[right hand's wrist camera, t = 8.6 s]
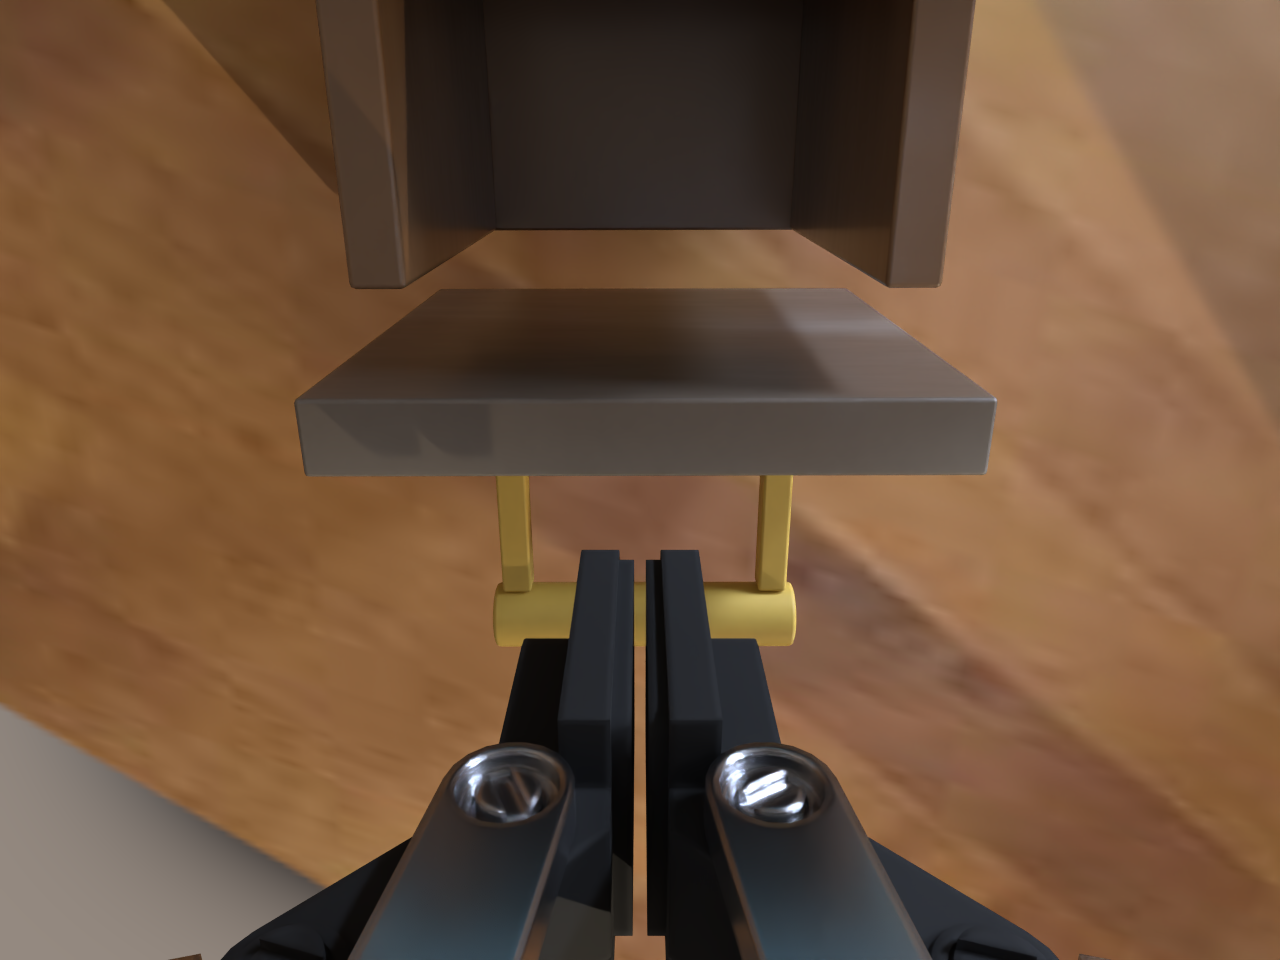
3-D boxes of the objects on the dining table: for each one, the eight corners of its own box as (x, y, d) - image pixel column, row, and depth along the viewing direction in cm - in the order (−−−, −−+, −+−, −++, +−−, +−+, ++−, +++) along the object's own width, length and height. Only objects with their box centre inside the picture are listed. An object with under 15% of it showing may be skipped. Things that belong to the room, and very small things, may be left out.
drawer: (826, 540, 24) (941, 787, 15) (460, 541, 24) (349, 788, 15) (901, -371, 17) (1204, -960, 8) (383, -370, 17) (87, -956, 8)
